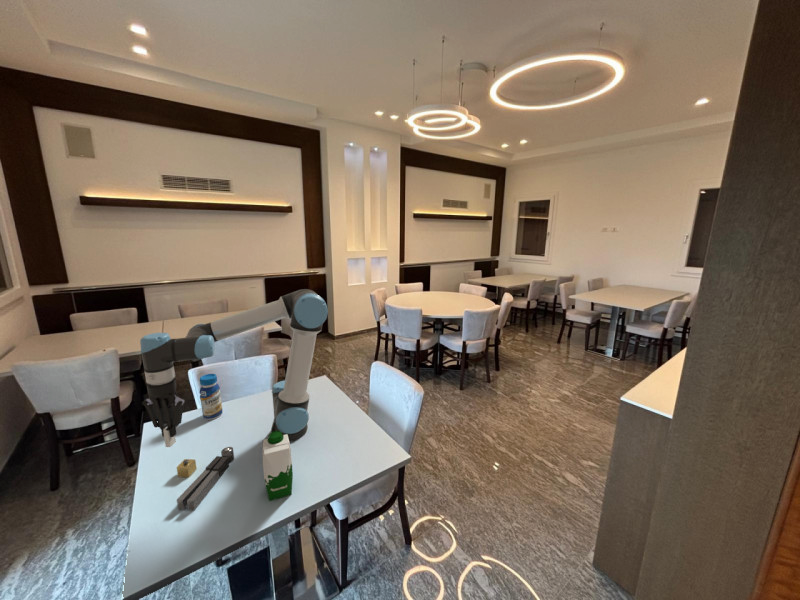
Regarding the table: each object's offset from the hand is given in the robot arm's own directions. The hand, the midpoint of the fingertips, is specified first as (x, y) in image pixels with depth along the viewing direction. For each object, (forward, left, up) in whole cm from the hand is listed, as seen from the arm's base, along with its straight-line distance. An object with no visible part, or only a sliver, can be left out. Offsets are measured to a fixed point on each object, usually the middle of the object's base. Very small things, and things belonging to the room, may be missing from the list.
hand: (170, 444), depth 106 cm
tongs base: (-12, -1, -15) cm, 19 cm away
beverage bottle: (+12, -40, -15) cm, 44 cm away
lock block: (-1, -4, -15) cm, 15 cm away
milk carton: (-38, +2, -15) cm, 40 cm away
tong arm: (-10, +2, -15) cm, 18 cm away
